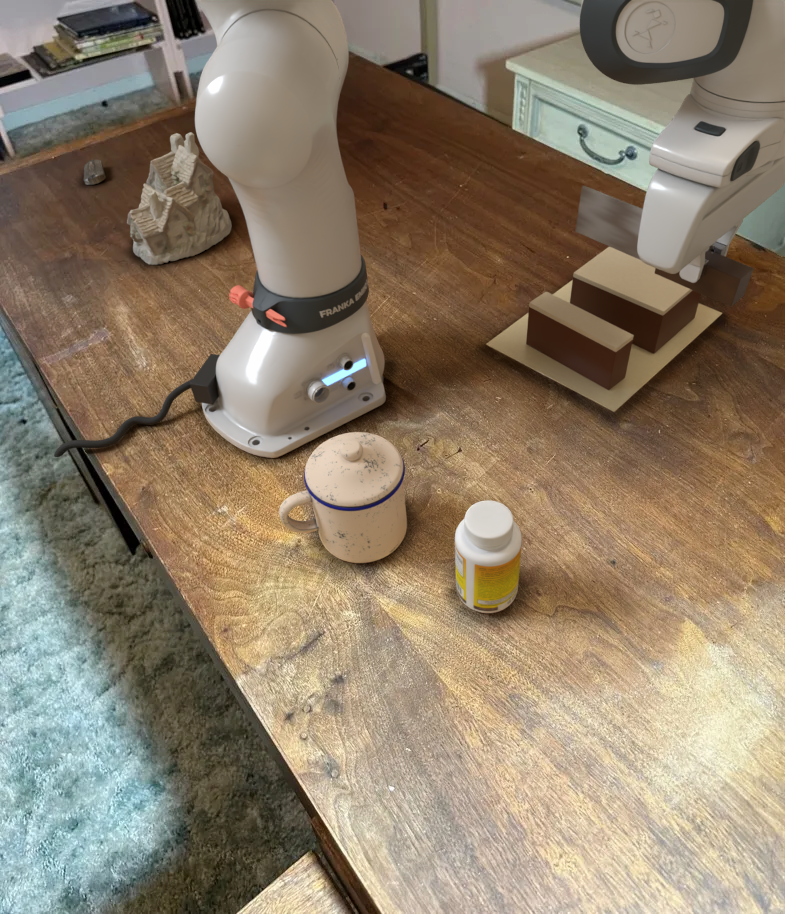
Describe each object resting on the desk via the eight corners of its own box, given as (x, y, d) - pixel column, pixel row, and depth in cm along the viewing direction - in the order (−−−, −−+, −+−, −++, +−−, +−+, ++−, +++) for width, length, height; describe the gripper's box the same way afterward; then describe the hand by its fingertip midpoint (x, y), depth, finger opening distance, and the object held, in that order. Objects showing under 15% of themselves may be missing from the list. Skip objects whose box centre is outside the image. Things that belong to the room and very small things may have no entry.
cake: (653, 354, 88) (663, 311, 84) (568, 314, 94) (573, 272, 90) (694, 318, 92) (706, 275, 88) (609, 282, 98) (616, 240, 94)
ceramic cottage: (204, 193, 124) (175, 101, 112) (248, 238, 114) (221, 143, 103) (114, 230, 120) (74, 139, 108) (152, 281, 110) (112, 187, 99)
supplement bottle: (530, 586, 69) (538, 515, 62) (491, 627, 66) (495, 558, 59) (481, 553, 72) (483, 482, 64) (442, 592, 69) (440, 521, 62)
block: (104, 167, 133) (100, 157, 132) (107, 182, 129) (103, 172, 128) (83, 171, 133) (79, 161, 131) (85, 187, 129) (81, 176, 127)
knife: (744, 295, 70) (761, 248, 67) (730, 307, 69) (747, 259, 65) (583, 226, 79) (590, 181, 76) (568, 235, 78) (575, 190, 75)
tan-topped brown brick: (608, 390, 85) (616, 348, 80) (525, 344, 91) (529, 302, 87) (625, 377, 86) (634, 335, 81) (542, 332, 92) (546, 291, 88)
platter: (613, 418, 83) (614, 411, 82) (485, 350, 92) (485, 344, 92) (720, 319, 93) (722, 312, 93) (596, 267, 103) (597, 261, 102)
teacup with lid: (392, 483, 79) (384, 399, 70) (422, 550, 73) (417, 467, 64) (279, 516, 77) (256, 434, 68) (300, 588, 70) (278, 508, 62)
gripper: (767, 67, 67) (726, 212, 77) (638, 152, 57) (610, 304, 67) (840, 84, 64) (787, 233, 74) (716, 177, 54) (674, 333, 64)
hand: (701, 268), depth 70 cm, fingers closed on knife, 2 cm apart
